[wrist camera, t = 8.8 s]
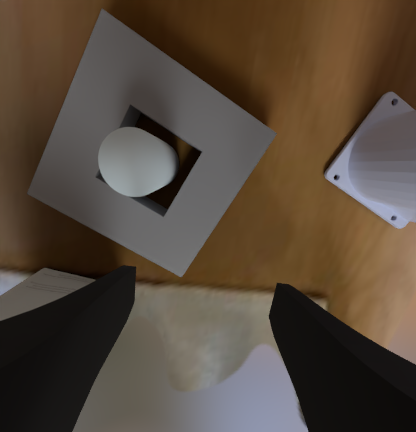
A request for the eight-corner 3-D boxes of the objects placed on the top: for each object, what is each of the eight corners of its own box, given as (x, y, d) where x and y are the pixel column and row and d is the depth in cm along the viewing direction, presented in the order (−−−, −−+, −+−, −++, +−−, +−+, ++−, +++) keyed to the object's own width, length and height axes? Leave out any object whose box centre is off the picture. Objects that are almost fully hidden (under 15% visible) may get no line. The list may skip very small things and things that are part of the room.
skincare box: (39, 311, 21) (-310, 619, 7) (45, 262, 20) (-380, 521, 5) (117, 329, 22) (-51, 645, 8) (128, 283, 21) (-53, 563, 6)
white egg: (187, 155, 17) (177, 150, 12) (166, 194, 18) (148, 208, 12) (145, 130, 17) (114, 112, 11) (126, 172, 18) (87, 176, 12)
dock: (266, 137, 17) (276, 133, 15) (184, 263, 20) (181, 277, 18) (118, 33, 15) (101, 8, 13) (50, 189, 18) (26, 193, 16)
